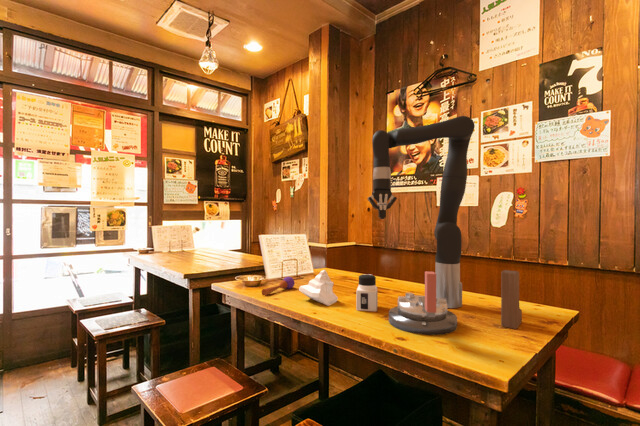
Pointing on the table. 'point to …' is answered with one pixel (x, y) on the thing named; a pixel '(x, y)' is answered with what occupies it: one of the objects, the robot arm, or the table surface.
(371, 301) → the container
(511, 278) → the wooden block
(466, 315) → the table surface
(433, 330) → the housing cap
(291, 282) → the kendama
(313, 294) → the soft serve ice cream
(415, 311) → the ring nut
